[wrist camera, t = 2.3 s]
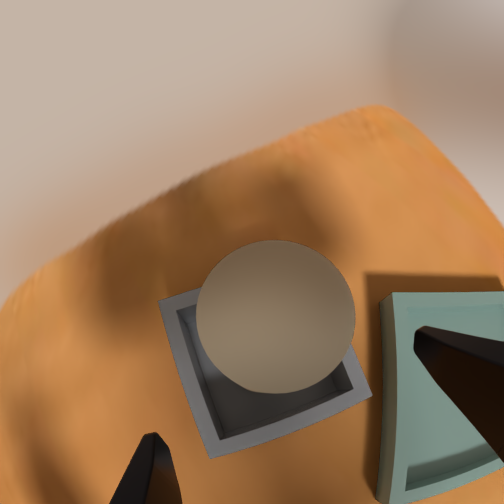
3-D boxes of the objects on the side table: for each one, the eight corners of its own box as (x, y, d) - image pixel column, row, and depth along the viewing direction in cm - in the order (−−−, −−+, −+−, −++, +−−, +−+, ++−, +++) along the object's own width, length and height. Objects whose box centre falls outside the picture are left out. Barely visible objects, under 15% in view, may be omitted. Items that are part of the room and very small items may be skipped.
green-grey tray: (514, 451, 13) (530, 451, 11) (375, 499, 13) (388, 508, 12) (508, 299, 19) (524, 290, 17) (379, 302, 20) (392, 292, 18)
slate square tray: (348, 396, 17) (372, 395, 13) (217, 445, 16) (209, 459, 12) (298, 277, 20) (308, 251, 17) (174, 319, 19) (158, 300, 16)
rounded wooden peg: (294, 393, 16) (356, 392, 6) (225, 390, 16) (189, 387, 7) (295, 328, 18) (350, 244, 8) (229, 325, 18) (205, 236, 8)
